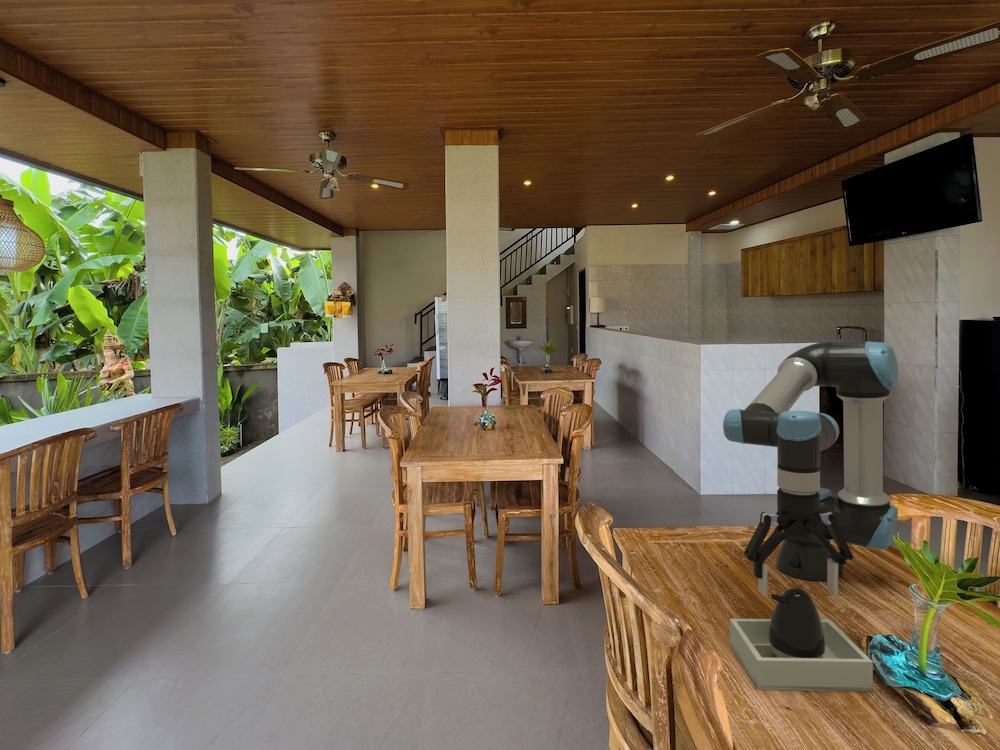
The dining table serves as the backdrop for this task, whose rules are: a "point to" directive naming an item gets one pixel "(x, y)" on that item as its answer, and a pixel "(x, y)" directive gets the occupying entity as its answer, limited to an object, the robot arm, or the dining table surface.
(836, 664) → the tray
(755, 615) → the dining table surface
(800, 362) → the robot arm
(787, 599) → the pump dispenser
